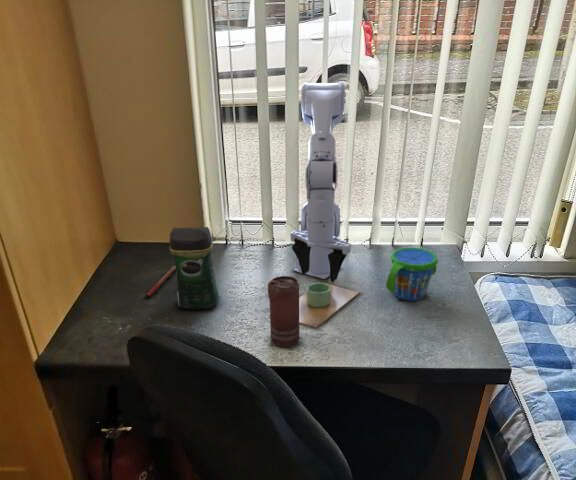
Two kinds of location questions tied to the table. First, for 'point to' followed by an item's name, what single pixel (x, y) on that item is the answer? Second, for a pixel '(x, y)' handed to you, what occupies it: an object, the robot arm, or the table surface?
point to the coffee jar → (194, 267)
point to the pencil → (160, 282)
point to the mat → (320, 315)
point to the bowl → (318, 294)
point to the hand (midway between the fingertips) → (319, 276)
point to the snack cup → (411, 272)
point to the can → (284, 311)
